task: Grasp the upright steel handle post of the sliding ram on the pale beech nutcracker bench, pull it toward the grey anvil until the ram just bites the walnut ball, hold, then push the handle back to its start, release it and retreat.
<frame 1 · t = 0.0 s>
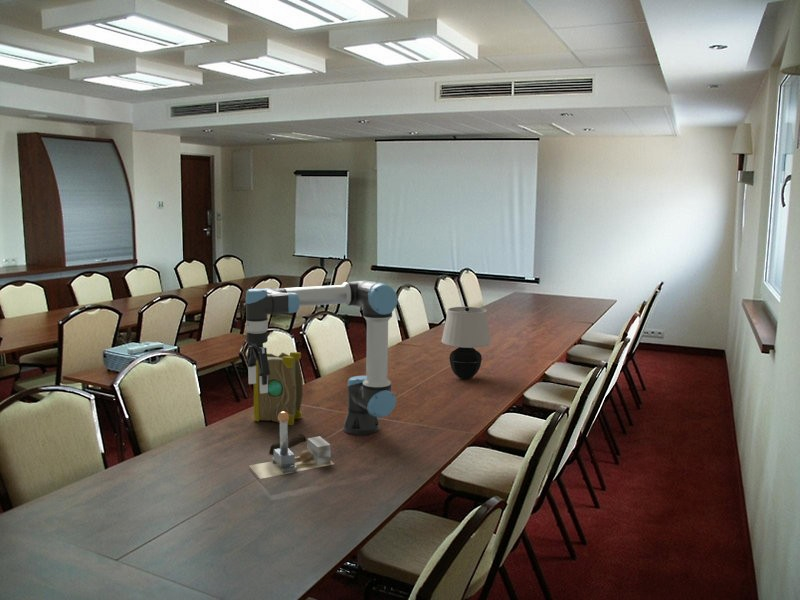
hand: (258, 388, 245), 28 cm above the table, fingers open, 13 cm apart
walnut: (305, 462, 245), point 1 cm above the table, touching bench
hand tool: (287, 451, 260), on the table
decorative book: (278, 420, 296), on the table
ram: (283, 438, 239), point 12 cm above the table, slide at 0.0 cm
table lamp: (464, 379, 368), on the table
bench: (292, 468, 242), on the table
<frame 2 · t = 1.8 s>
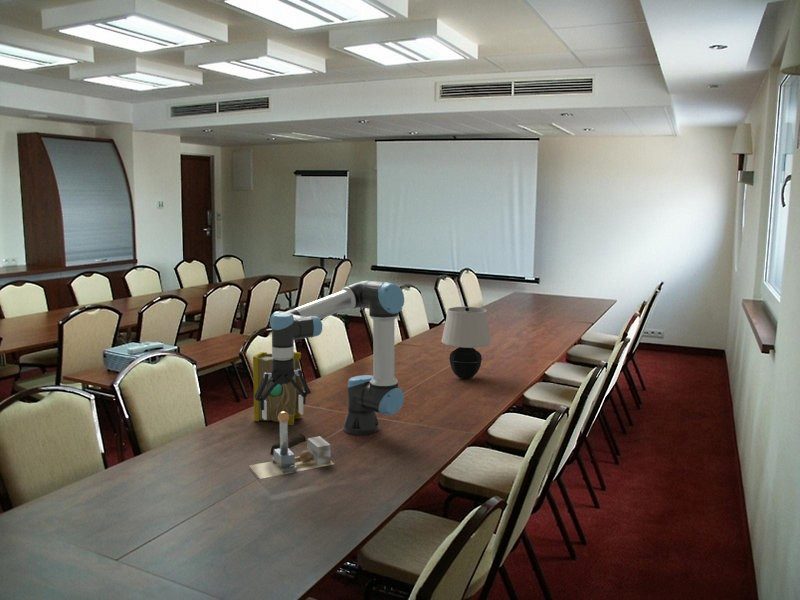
hand: (282, 416, 238), 20 cm above the table, fingers open, 13 cm apart
nothing on the table moved.
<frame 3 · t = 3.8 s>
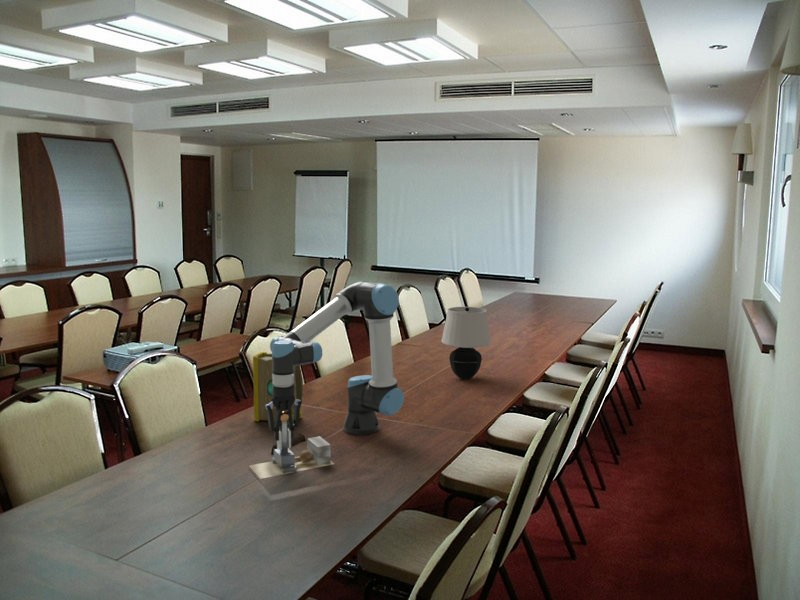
hand: (284, 447, 240), 9 cm above the table, fingers closed on ram, 3 cm apart
ram: (283, 438, 239), point 12 cm above the table, slide at 0.0 cm, touching gripper
everything else where it was.
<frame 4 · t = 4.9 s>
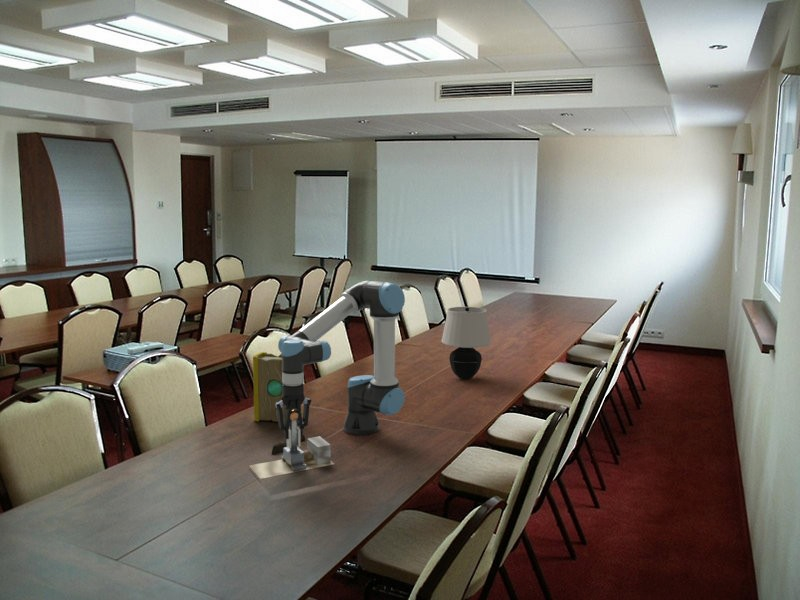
hand: (293, 446, 241), 9 cm above the table, fingers closed on ram, 3 cm apart
walnut: (305, 462, 245), point 2 cm above the table, tilted 7°, touching bench
ram: (293, 437, 241), point 12 cm above the table, slide at 3.7 cm, touching gripper
everything else where it was.
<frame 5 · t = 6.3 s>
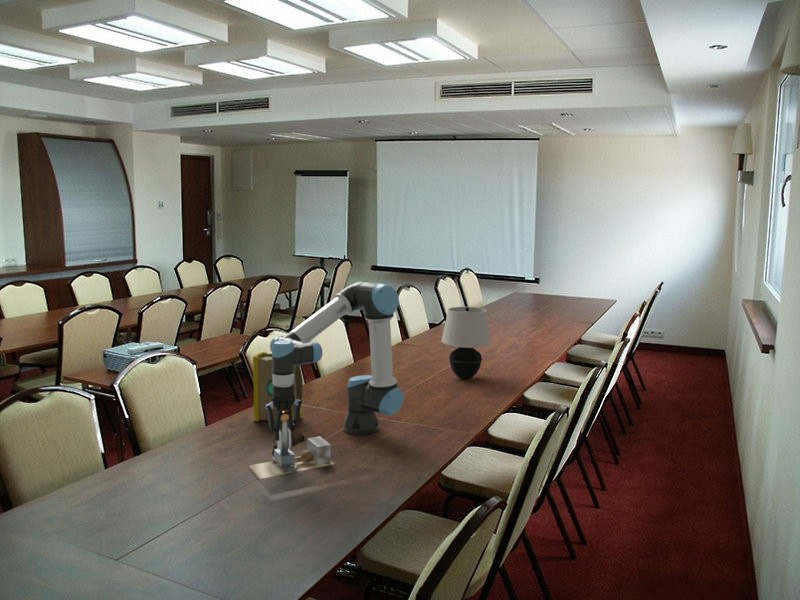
hand: (284, 447, 240), 9 cm above the table, fingers closed on ram, 3 cm apart
ram: (284, 438, 239), point 12 cm above the table, slide at 0.1 cm, touching gripper
everything else where it was.
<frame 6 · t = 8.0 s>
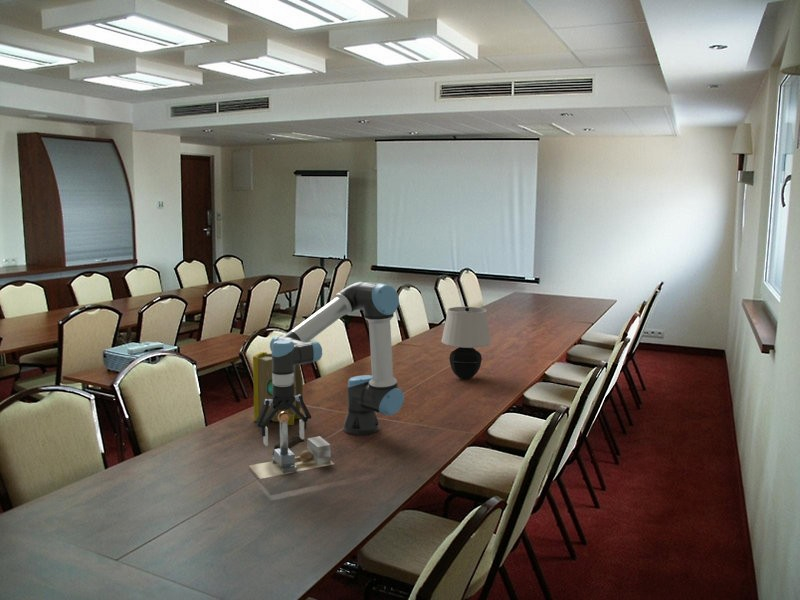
hand: (284, 441, 239), 11 cm above the table, fingers open, 13 cm apart
walnut: (305, 462, 245), point 2 cm above the table, touching bench
ram: (283, 438, 239), point 12 cm above the table, slide at 0.0 cm
everything else where it was.
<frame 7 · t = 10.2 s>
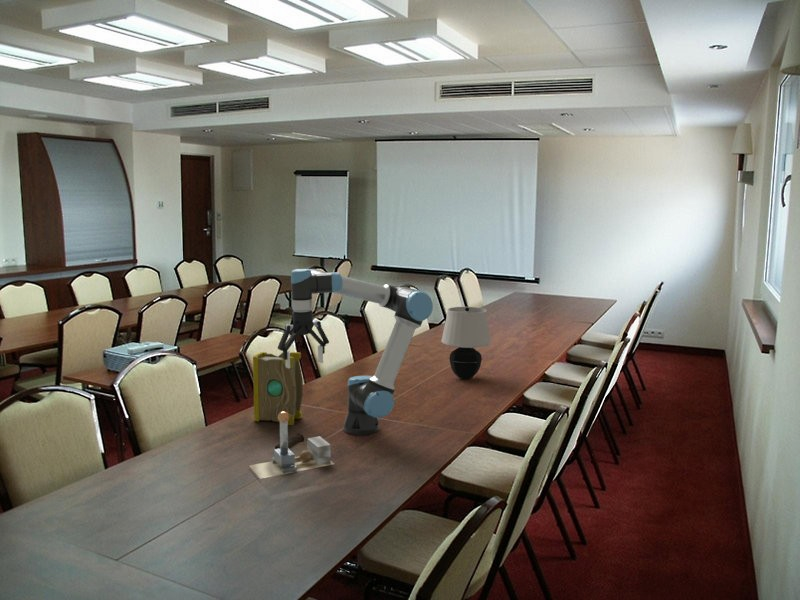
hand: (304, 365, 255), 34 cm above the table, fingers open, 13 cm apart
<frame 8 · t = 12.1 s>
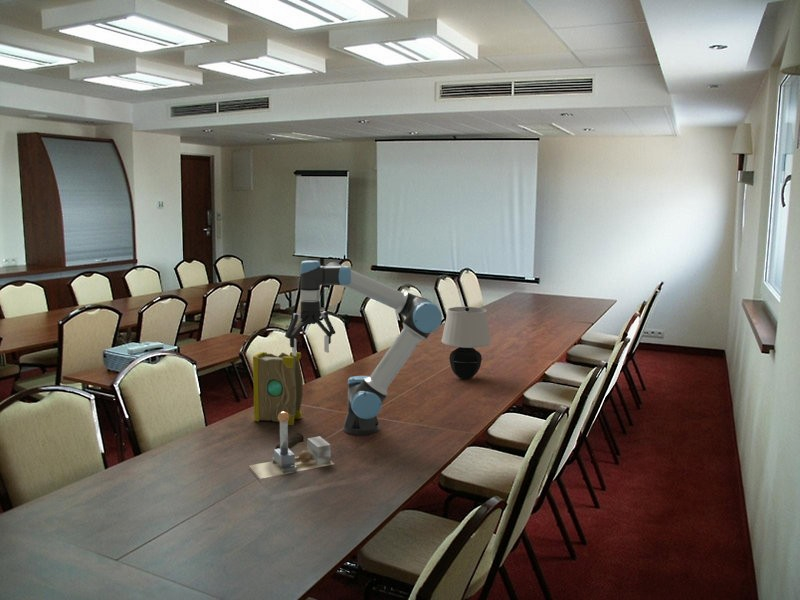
hand: (310, 353, 263), 37 cm above the table, fingers open, 13 cm apart
walnut: (305, 462, 245), point 2 cm above the table, tilted 9°, touching bench
at the end: ram slide at 0.0 cm; walnut 0.3 cm from the target spot, point 1.5 cm above the table; the gripper is holding nothing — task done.
